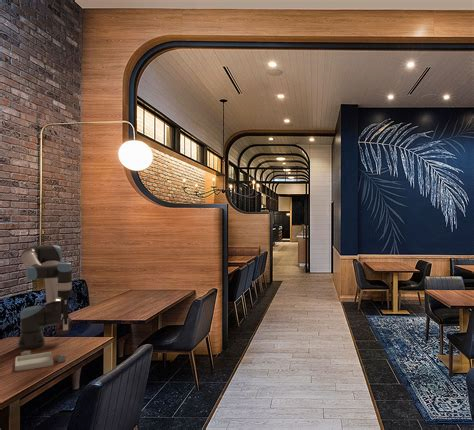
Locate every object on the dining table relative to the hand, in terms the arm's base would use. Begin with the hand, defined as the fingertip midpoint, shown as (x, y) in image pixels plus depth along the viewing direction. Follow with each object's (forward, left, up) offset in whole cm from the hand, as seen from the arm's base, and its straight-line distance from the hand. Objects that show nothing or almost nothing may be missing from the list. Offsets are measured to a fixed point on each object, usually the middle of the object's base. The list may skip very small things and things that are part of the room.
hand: (64, 327), depth 238 cm
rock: (+1, 0, -3) cm, 4 cm away
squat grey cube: (+14, -3, -15) cm, 20 cm away
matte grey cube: (-4, -20, -15) cm, 25 cm away
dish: (+11, -16, -14) cm, 24 cm away
